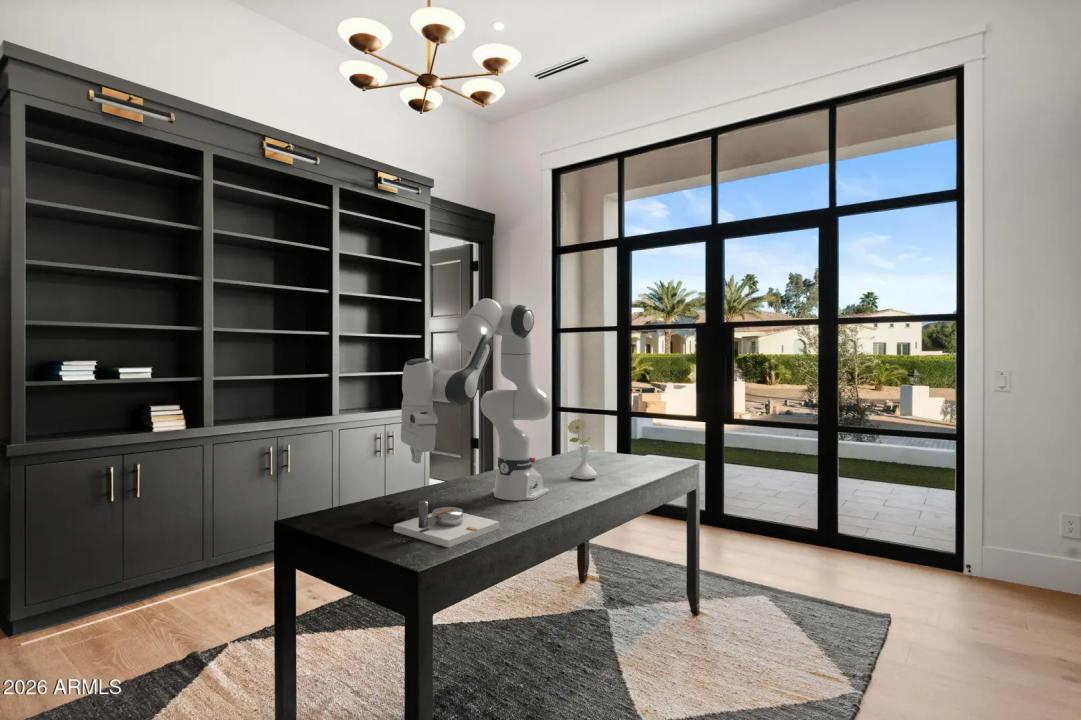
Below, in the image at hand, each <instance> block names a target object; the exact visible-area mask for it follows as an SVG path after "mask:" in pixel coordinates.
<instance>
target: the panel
mask: <svg viewBox="0 0 1081 720" xmlns="http://www.w3.org/2000/svg"><path fill="white" fill-rule="evenodd" d="M429 517H432V512H431V513H428V518H429ZM418 519H419V516H417V517H414V518H411V519H408V520H404V521H401V523H398V524H394V528H393V532H395V533H397V534H401V535H405V536H409V537H411V538H415V539H417V540H418V539H419V540H421V541H425V542H429V543H431V544H435V545H439V546H442V547H444V548H448V549H449V548H452V547H454V546H458V544H459V545H460V544H463V543H465V542H467V541H469V540H473V539H475V538H478V537H481V536H483V535H485V534H488V533H491V532H493V531H495V530H499V529H500V521H498V520H494V519H490V518H486V517H481V516H477V515H473V514H469V513H467V512H466V513H465V512H463V522H462V523H460V524H458V525H452V526H441V525H436V524H434V525H431V526H428V527H427V528H419V527H418Z"/></svg>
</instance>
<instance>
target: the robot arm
mask: <svg viewBox="0 0 1081 720" xmlns="http://www.w3.org/2000/svg"><path fill="white" fill-rule="evenodd" d="M534 324H535V316H534V313H533V311H532V310H531V308H530V307H528V306H527V305H524V304H514V303H513V304H512V303H498V302H497V300H495V299H492V298H488V297H487V298H482V299H480V300H478V301H477V302H476V303H475V304H474V305H473V306H471V308H470V309H469V310H468V311H467V312H466V314H465V316H464V317H463V318H462V319H461V321H460V322H459V324H458V327H457V329H456V335H457V336H456V337H457V340H458V342H459V343H460V345H461V346H462V347H463V348H464V349H466V351H468V352H470V355H469V356H468V359H467V361H466V363H465V365H464V367H462V368H460V369H457V370H455V369H454V370H453V369H452V370H451V369H441V368H440V367H438V366H436V365H435V364H434V363H433V362H432V359H430V358H426V357H420V358H419V357H418V358H413V359H409V360H407V361H406V362H405V363H404V365H403V369H402V370H403V371H402V379H401V391H402V394H403V397H402V401H401V417H400V418H401V425H400V441H401V442H402V443H404V444H405V445H407V446H409V447H410V448H409V450H410V454H411V462H413V463H415V464H420V463H422V455H423V453H428V452H430V453H431V452H434V449H435V446H436V438H437V436H436V435H437V427H436V425H437V424H438V421H439V419H438V416H437V414H436V412H435V409H434V402H439V403H450V404H454V405H458V406H466V405H468V404H470V403H471V402H472V401H473V400H474V398H475V397H476V396H477V393H478V390H479V384H480V381H481V378H482V376H483V373H484V371H485V369H486V367H487V364H488V362H489V359H490V357H491V355H492V351H493V346H494V343H493V340H492V338H493V336H499V337H500V336H501V342H500V373H501V374H502V377H504V378H505V379H506V380H508V381H510V382H512V383H513V384H514V385H515V386H516V389H491V390H488V391H486V392H484V394H483V395H482V397H481V399H480V403H479V405H480V409H481V413H482V414H483V415H484V416H485V417H486V418H487V419H488V420H489V421H490V422H491V424H492V425H493V426H494V427H495V429H496V432H497V435H498V447H499V448H498V449H499V451H498V453H499V454H498V458H497V468H498V469H497V470H496V475H495V481H494V482H495V483H494V488H493V489H492V493H493V496H494V498H497V499H500V500H504V501H535V500H537V499H539V498H541V497H542V496H544V495H546V494H548V493H550V489H549V488H547V487H545V486H544V484H543V483H544V481H543V477H542V475H541V473H539V472H538V471H536V469H535V468H534V467H533V464H536V462H537V459H536V457H534V456H531V457H530V444H531V443H530V440H531V439H530V437H529V435H528V433H527V432H525V431H524V430H522V429H520V428H518V427H517V426H516V424H515V421H539V420H544V419H545V418H547V417H548V416H549V414H550V411H551V408H552V402H551V399H550V397H549V396H548V394H547V393H546V392H544V391H543V390H542V389H541V388H540V387H539V385H538V384H537V383H536V381H535V378H534V375H533V369H532V368H533V367H532V340H531V334H530V333H531V332H532V330H533V327H534ZM532 463H533V464H532Z"/></svg>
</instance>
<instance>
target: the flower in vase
mask: <svg viewBox="0 0 1081 720" xmlns="http://www.w3.org/2000/svg"><path fill="white" fill-rule="evenodd" d="M586 429H587V426H586V422H585V421H584V420H582V419H580V418H577V419H573V420H571V421H570V423H568V425H567V430H568V433H571V434H573V435H577V436H578V437H575V436H574V437H572V438H570V439H569V442H571V443H577V442H579V441H580V443H581V444H579V445H578V448H579V450H580V453H581V459H580V463H579V464H578V465H577V466H576V467H575V468H573V469H572V470H571V471H570V473H569V474H570V476H571V477H572V478H574V479H579V480H590V479H591V480H593V479H594V478H596V477H597V476H598V474H597V472H596V471H595V469H594V468H593V467H592V466H590V465H589V464H588V461H587V460H588V459H587V458H588V451H589V449H590V448H591V445H589V444H585V443H587V442H589V441H590V439H591V436H590V437H588V438H584V439H583V440H581V438H580V434H581V433H583V432H584V431H585V430H586Z"/></svg>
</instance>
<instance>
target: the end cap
mask: <svg viewBox="0 0 1081 720" xmlns="http://www.w3.org/2000/svg"><path fill="white" fill-rule="evenodd" d="M405 511H406V506H405V505H404V504H402V503H393V501H392V500H388V499H387V500H383V501H379V500H375V499H374V500H373V501H371V502H370V503H369V504H368V505H367V507H366V516H367V518H368V519H369V520H370V521H371V522H374V523H376V524H378V525H382V526H385V527H388V528H390V529H394V524H398V523H401V522H404V521H406V520H405V519H406V515H405V514H401V515H400V516H398V514H399V513H403V512H405Z"/></svg>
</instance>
